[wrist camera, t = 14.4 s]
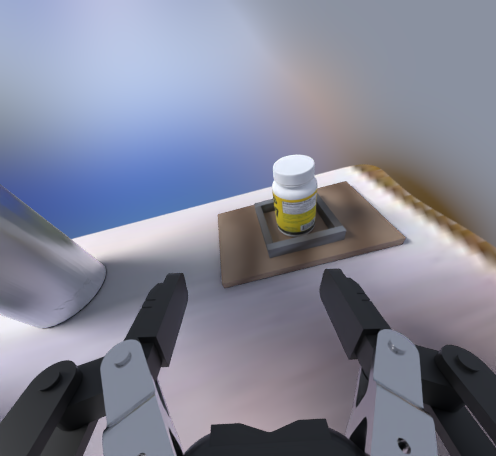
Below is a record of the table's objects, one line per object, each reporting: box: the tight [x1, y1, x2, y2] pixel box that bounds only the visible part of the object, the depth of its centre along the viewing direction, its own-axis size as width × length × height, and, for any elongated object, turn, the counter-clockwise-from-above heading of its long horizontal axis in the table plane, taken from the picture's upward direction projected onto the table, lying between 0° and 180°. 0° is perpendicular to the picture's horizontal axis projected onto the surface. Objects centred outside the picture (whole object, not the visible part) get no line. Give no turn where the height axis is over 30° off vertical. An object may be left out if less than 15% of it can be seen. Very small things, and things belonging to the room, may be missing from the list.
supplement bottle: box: [272, 155, 317, 237], centre depth 21 cm, size 5×5×8 cm
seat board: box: [218, 181, 406, 288], centre depth 24 cm, size 20×12×2 cm, turn 99°
